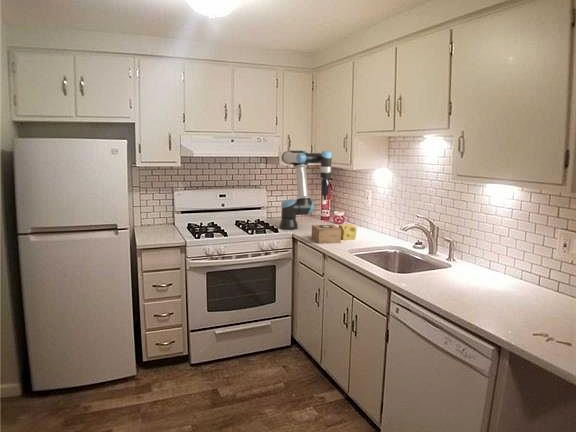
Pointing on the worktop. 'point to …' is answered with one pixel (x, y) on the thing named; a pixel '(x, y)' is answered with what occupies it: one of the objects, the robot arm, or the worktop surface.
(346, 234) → the cheese
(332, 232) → the socket block
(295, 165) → the robot arm
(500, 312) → the worktop surface
